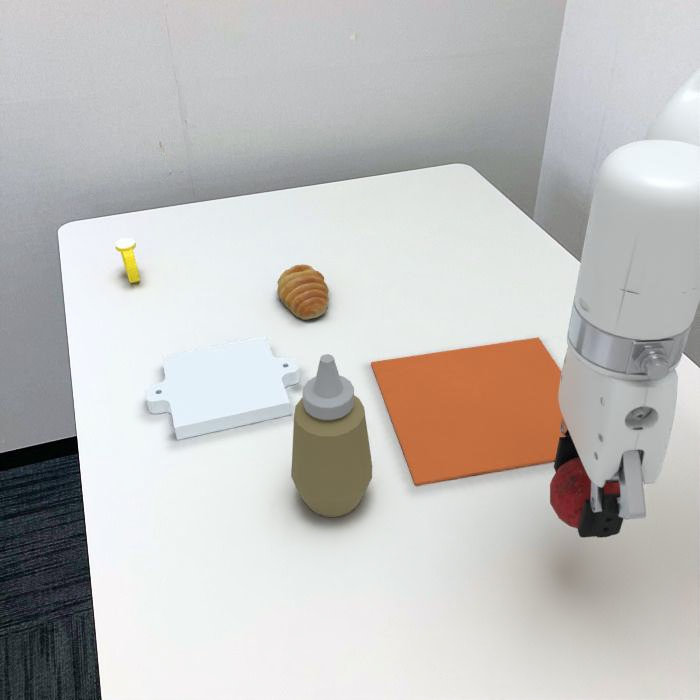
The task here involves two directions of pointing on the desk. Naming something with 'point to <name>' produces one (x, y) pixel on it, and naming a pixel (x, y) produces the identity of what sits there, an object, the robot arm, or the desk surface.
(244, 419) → the mounting plate
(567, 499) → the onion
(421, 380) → the cloth
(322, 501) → the squeeze bottle
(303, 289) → the pastry
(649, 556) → the desk surface
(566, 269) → the desk surface
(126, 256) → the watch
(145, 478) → the desk surface
